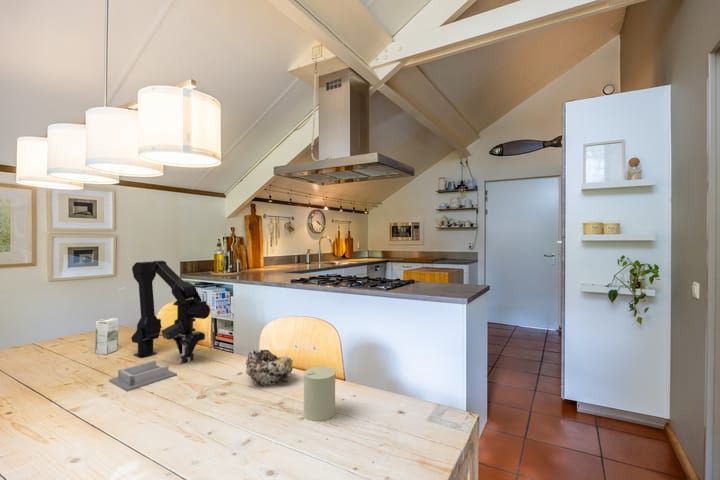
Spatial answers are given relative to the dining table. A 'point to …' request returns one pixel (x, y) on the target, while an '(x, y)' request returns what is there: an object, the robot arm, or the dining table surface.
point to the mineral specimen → (268, 367)
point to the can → (319, 393)
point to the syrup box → (106, 336)
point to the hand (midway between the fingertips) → (185, 355)
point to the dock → (141, 375)
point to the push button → (184, 352)
